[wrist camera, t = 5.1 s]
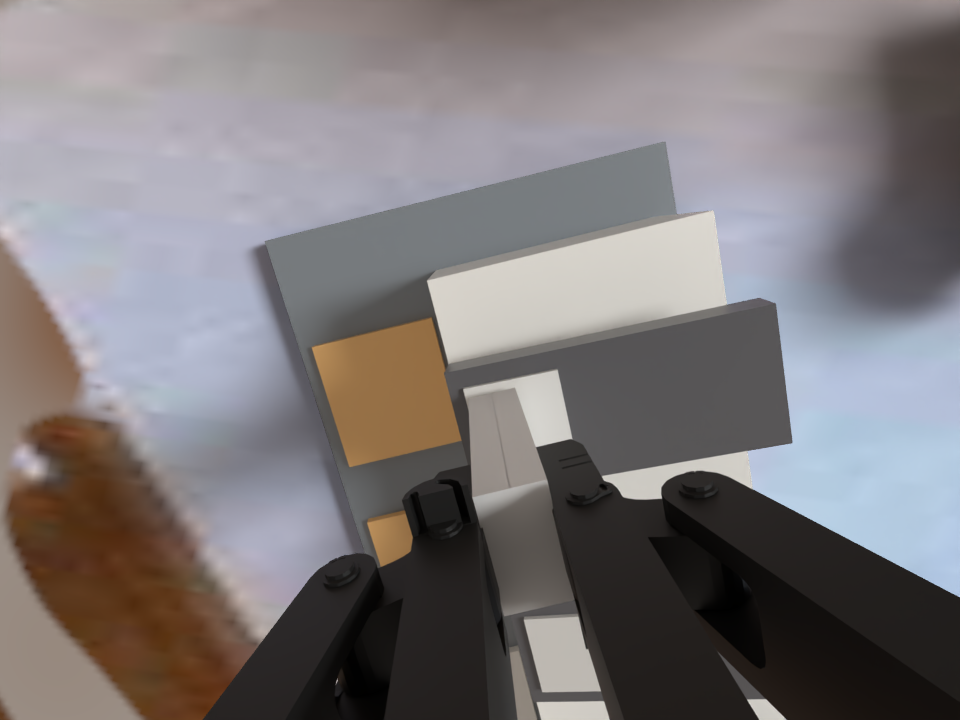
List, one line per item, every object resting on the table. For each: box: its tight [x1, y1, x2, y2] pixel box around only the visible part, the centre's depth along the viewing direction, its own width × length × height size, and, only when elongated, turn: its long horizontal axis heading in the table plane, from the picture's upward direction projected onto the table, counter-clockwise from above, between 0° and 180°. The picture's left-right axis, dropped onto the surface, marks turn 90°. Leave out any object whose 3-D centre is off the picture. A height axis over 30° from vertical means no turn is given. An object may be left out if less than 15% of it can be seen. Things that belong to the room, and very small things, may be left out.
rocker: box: [444, 298, 792, 476], centre depth 18 cm, size 10×4×1 cm, turn 104°
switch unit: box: [265, 142, 785, 720], centre depth 25 cm, size 18×34×8 cm, turn 13°
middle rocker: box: [510, 600, 765, 702], centre depth 20 cm, size 10×4×1 cm, turn 104°
